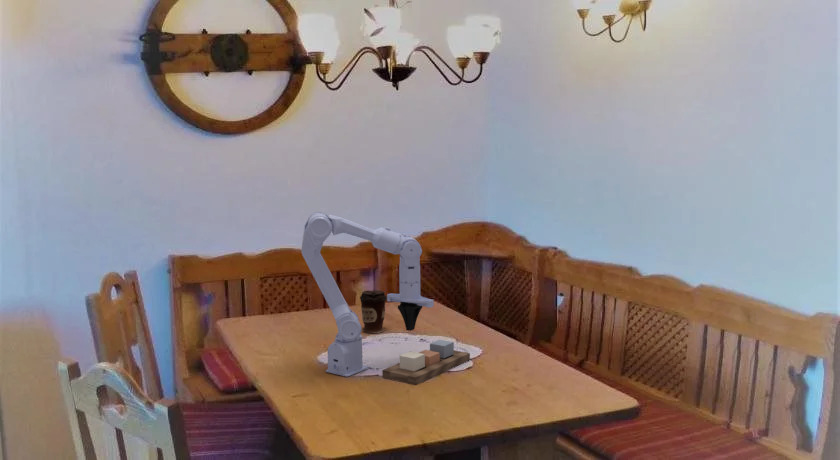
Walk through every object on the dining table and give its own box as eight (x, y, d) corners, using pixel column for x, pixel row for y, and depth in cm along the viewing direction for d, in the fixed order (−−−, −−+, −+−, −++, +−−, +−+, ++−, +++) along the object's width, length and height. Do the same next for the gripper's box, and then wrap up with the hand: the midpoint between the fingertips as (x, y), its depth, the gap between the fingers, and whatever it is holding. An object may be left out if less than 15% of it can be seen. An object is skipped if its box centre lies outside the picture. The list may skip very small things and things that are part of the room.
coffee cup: (374, 336, 253) (373, 295, 251) (354, 332, 258) (354, 292, 256) (391, 330, 260) (391, 291, 258) (372, 326, 265) (371, 288, 263)
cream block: (414, 371, 211) (414, 358, 210) (399, 368, 213) (399, 355, 213) (424, 366, 215) (424, 354, 214) (410, 363, 217) (410, 351, 217)
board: (415, 385, 206) (415, 377, 206) (382, 377, 213) (382, 370, 212) (469, 360, 227) (469, 353, 227) (437, 353, 234) (437, 347, 233)
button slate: (444, 358, 222) (444, 346, 221) (429, 355, 225) (429, 343, 224) (453, 354, 226) (453, 342, 225) (439, 351, 229) (439, 339, 228)
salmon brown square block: (429, 369, 216) (429, 356, 216) (415, 366, 219) (415, 353, 219) (439, 364, 220) (439, 352, 220) (425, 361, 223) (425, 349, 223)
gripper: (440, 281, 218) (440, 330, 220) (397, 276, 226) (398, 322, 228) (424, 286, 212) (425, 336, 214) (382, 280, 220) (382, 328, 222)
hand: (410, 329), depth 221 cm, fingers closed
